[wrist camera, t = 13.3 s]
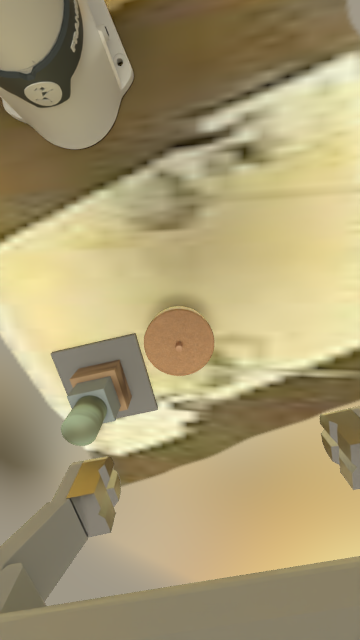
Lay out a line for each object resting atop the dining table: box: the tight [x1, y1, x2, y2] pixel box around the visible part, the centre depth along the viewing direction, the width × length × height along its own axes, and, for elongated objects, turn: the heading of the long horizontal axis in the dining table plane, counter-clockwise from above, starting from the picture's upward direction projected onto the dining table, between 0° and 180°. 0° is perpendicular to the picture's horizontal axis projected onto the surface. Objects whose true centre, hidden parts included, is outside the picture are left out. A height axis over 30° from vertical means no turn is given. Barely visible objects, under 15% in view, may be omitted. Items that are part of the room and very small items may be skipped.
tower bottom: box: [69, 360, 132, 411], centre depth 45 cm, size 8×8×4 cm
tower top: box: [67, 376, 121, 423], centre depth 41 cm, size 6×6×4 cm
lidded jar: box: [144, 306, 214, 376], centre depth 41 cm, size 11×11×9 cm
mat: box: [51, 334, 158, 418], centre depth 48 cm, size 16×16×1 cm
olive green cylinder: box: [61, 395, 107, 446], centre depth 37 cm, size 5×5×5 cm
